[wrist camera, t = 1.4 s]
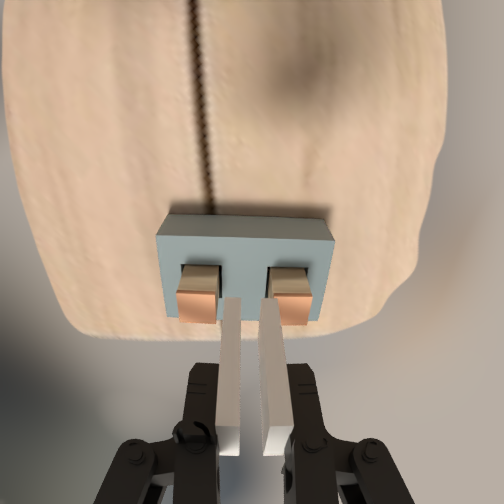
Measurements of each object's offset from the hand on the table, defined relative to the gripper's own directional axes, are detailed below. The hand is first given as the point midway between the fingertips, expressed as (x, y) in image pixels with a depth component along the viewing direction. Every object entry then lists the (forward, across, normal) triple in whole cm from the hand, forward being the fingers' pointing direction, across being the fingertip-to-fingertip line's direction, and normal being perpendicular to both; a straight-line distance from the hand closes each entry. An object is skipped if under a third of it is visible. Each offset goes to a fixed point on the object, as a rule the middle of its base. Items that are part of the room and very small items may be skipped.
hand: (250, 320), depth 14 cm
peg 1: (+19, -5, -11) cm, 23 cm away
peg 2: (+19, +5, -11) cm, 23 cm away
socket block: (+24, 0, -11) cm, 27 cm away
